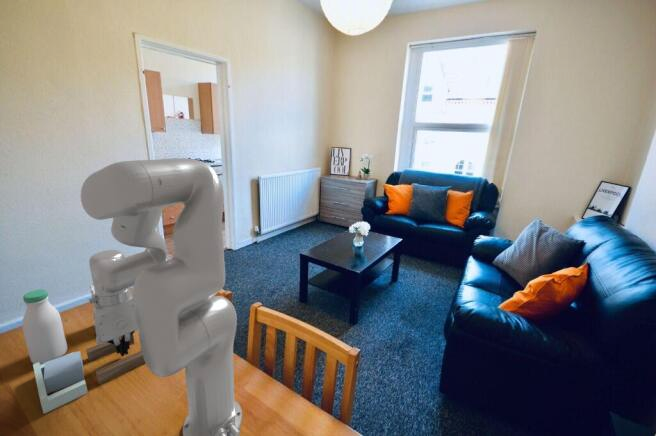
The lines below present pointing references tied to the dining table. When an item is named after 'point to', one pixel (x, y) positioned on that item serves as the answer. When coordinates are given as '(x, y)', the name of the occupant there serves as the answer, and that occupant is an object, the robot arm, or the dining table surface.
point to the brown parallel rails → (117, 367)
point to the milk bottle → (42, 328)
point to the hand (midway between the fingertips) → (123, 352)
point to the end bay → (58, 397)
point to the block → (63, 372)
